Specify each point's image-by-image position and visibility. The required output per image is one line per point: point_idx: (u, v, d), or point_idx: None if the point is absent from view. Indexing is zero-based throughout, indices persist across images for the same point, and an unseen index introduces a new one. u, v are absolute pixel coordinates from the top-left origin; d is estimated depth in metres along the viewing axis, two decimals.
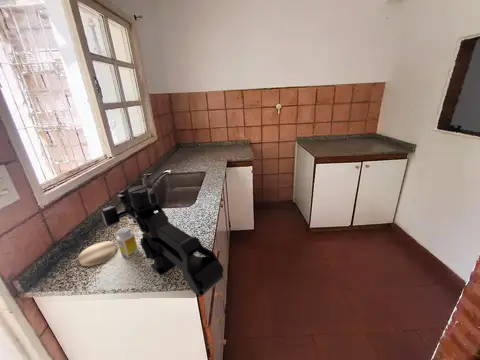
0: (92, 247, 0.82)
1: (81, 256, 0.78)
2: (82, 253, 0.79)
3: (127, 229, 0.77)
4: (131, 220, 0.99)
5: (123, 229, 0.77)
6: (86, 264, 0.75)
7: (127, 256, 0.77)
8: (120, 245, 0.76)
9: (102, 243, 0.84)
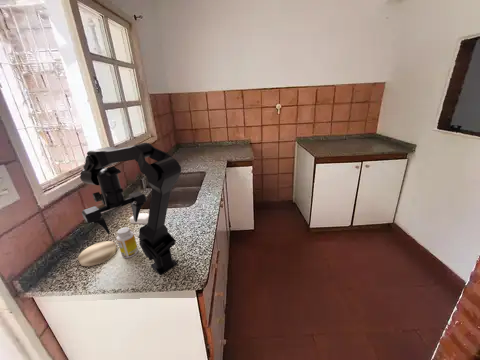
0: (92, 247, 0.82)
1: (81, 256, 0.78)
2: (82, 253, 0.79)
3: (127, 229, 0.77)
4: (132, 219, 0.99)
5: (123, 229, 0.77)
6: (86, 264, 0.75)
7: (127, 256, 0.77)
8: (120, 245, 0.76)
9: (102, 243, 0.84)
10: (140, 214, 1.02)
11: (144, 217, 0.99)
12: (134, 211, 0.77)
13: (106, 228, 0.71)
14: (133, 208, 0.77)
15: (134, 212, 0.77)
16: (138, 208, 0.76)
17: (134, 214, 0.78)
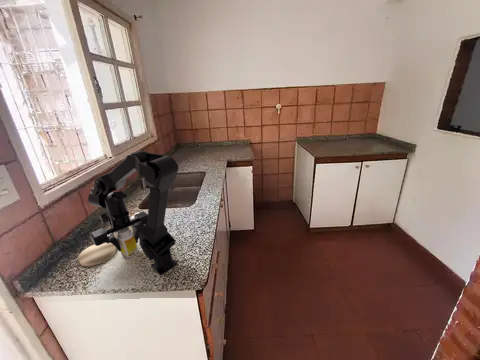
0: (92, 247, 0.82)
1: (81, 256, 0.78)
2: (82, 253, 0.79)
3: (127, 229, 0.77)
4: None
5: (123, 229, 0.77)
6: (86, 264, 0.75)
7: (127, 256, 0.77)
8: (120, 245, 0.76)
9: None
10: None
11: None
12: (135, 233, 0.79)
13: (118, 247, 0.75)
14: (134, 230, 0.79)
15: (135, 234, 0.79)
16: (139, 230, 0.78)
17: (135, 236, 0.80)
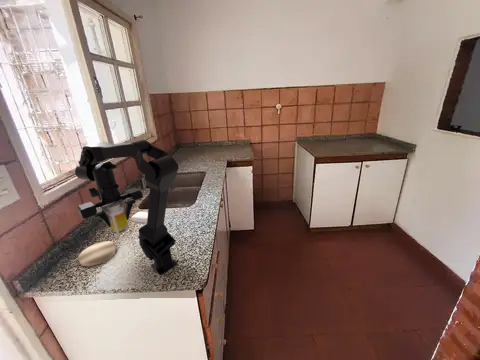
0: (92, 247, 0.82)
1: (81, 256, 0.78)
2: (82, 253, 0.79)
3: (117, 204, 0.73)
4: (134, 218, 1.01)
5: (113, 204, 0.73)
6: (86, 264, 0.75)
7: (117, 232, 0.74)
8: (110, 220, 0.72)
9: (102, 243, 0.84)
10: (142, 213, 1.03)
11: (145, 216, 1.00)
12: (125, 209, 0.76)
13: (107, 222, 0.71)
14: (124, 206, 0.76)
15: (125, 210, 0.76)
16: (129, 206, 0.75)
17: (125, 212, 0.76)
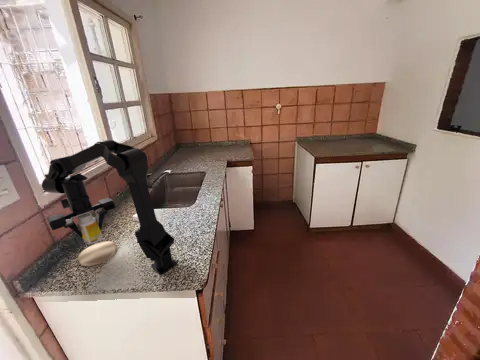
0: (92, 247, 0.82)
1: (81, 256, 0.78)
2: (82, 253, 0.79)
3: (89, 214, 0.75)
4: (134, 217, 1.01)
5: (85, 214, 0.75)
6: (86, 264, 0.75)
7: (89, 242, 0.75)
8: (81, 231, 0.74)
9: (102, 243, 0.84)
10: None
11: None
12: (98, 219, 0.77)
13: (78, 232, 0.73)
14: (97, 216, 0.77)
15: (98, 220, 0.77)
16: (101, 216, 0.76)
17: (98, 222, 0.78)
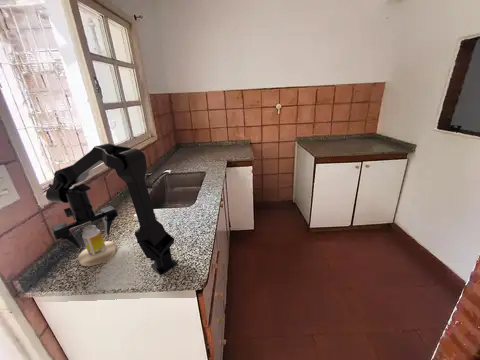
0: None
1: (81, 256, 0.78)
2: (82, 253, 0.79)
3: (93, 226, 0.77)
4: (135, 216, 1.02)
5: (89, 227, 0.77)
6: (86, 264, 0.75)
7: (93, 254, 0.77)
8: (85, 243, 0.76)
9: None
10: None
11: None
12: (105, 225, 0.79)
13: (76, 243, 0.73)
14: (104, 222, 0.80)
15: (105, 226, 0.80)
16: (109, 223, 0.79)
17: (106, 228, 0.80)
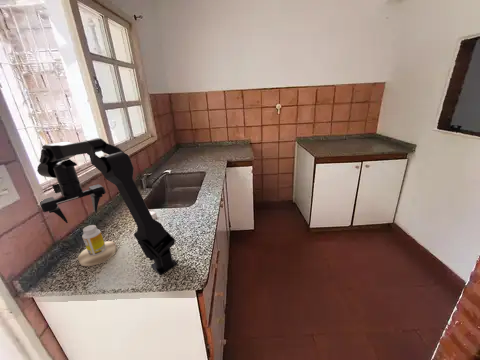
0: None
1: (81, 256, 0.78)
2: (82, 253, 0.79)
3: (93, 227, 0.77)
4: None
5: (89, 227, 0.77)
6: (86, 264, 0.75)
7: (93, 254, 0.77)
8: (86, 243, 0.76)
9: None
10: None
11: None
12: (93, 202, 0.82)
13: (63, 217, 0.76)
14: (92, 200, 0.82)
15: (93, 203, 0.82)
16: (96, 199, 0.81)
17: (93, 205, 0.83)
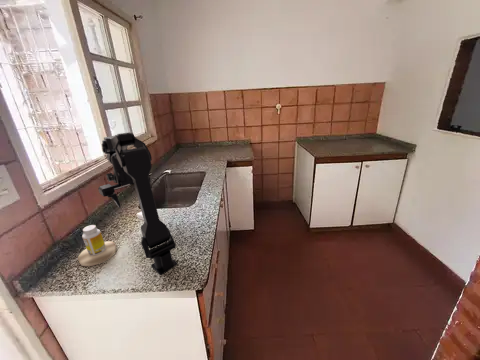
0: None
1: (81, 256, 0.78)
2: (82, 253, 0.79)
3: (93, 227, 0.77)
4: (138, 215, 1.03)
5: (89, 227, 0.77)
6: (86, 264, 0.75)
7: (93, 254, 0.77)
8: (86, 243, 0.76)
9: None
10: None
11: None
12: None
13: (118, 202, 0.85)
14: None
15: None
16: None
17: None
